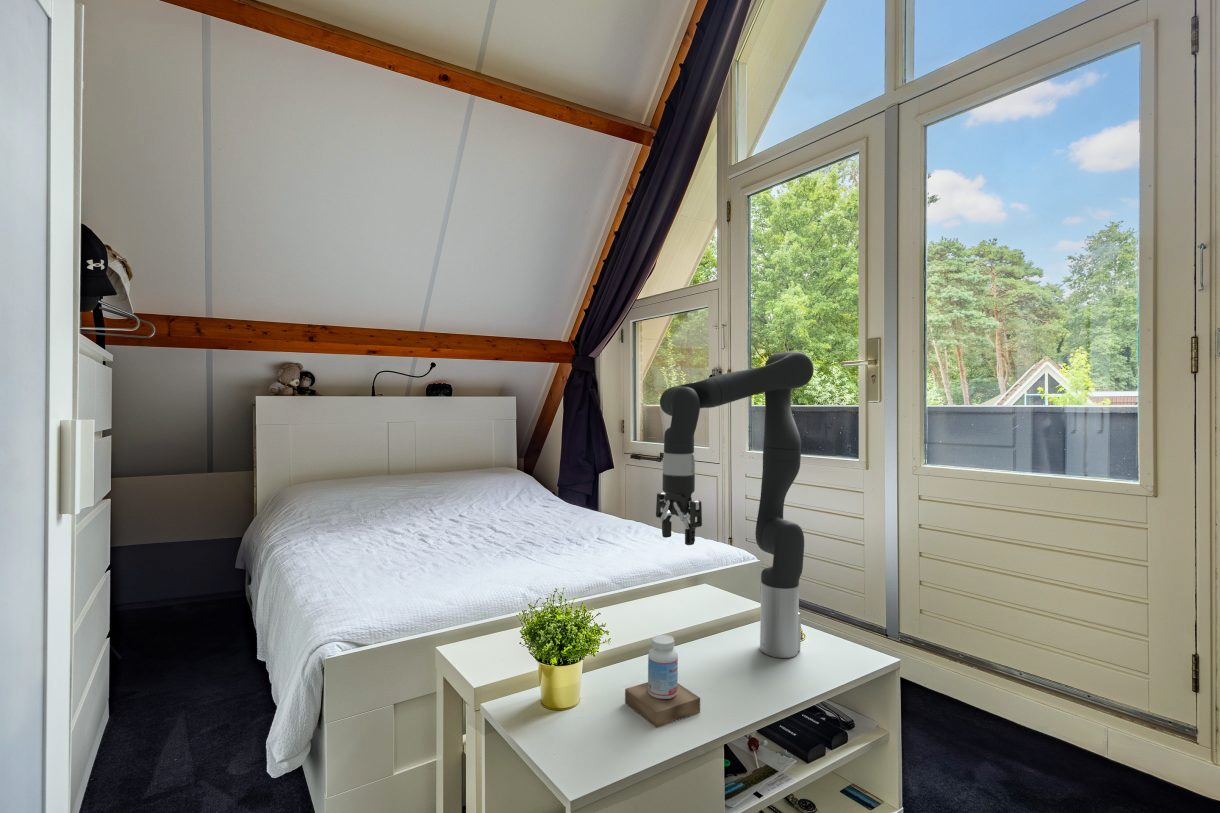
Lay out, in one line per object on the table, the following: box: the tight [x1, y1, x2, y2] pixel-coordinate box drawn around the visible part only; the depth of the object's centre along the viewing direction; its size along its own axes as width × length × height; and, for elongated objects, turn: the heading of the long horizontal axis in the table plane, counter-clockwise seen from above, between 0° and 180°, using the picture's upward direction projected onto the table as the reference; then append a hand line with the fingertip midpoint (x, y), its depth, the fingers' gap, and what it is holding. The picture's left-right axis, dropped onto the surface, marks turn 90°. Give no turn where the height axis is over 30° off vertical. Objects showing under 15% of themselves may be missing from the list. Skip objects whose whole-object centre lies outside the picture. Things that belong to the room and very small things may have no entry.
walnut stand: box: [624, 681, 701, 728], centre depth 127 cm, size 11×11×3 cm
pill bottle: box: [647, 634, 679, 699], centre depth 127 cm, size 6×6×11 cm
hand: (677, 540), depth 144 cm, fingers open, 8 cm apart
